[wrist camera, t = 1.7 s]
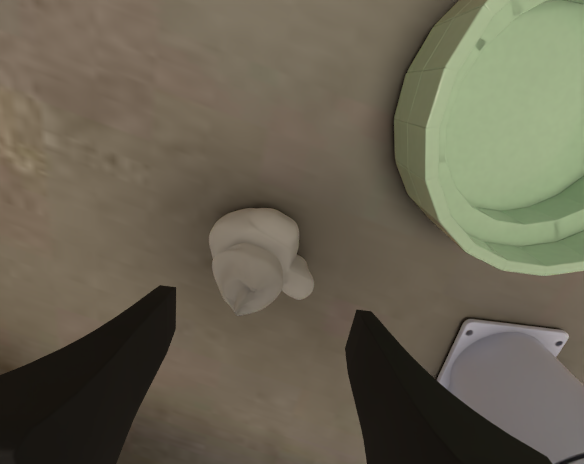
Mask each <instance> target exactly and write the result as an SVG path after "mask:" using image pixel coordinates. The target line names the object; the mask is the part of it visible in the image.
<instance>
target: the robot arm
mask: <svg viewBox="0 0 584 464" xmlns="http://www.w3.org/2000/svg"><path fill="white" fill-rule="evenodd" d="M175 329H176V287H169V286H161V285H160V286H159V287H157V288H156V289H154V290H153V291H152V292H150V293H149V294H147V295H146V296H145V297H143V298H142V299H141V300H139V301H138V302H137V303H135V304H134V305H132V306H131V307H130V308H128V309H127V310H125V311H124V312H122V313H121V314H120V315H118V316H117V317H115V318H114V319H112V320H110V321H109V322H107V323H106V324H104V325H103V326H101V327H99V328H98V329H96V330H95V331H93V332H91V333H90V334H88V335H86V336H84V337H83V338H81V339H79V340H77V341H75V342H73V343H71V344H69V345H68V346H66V347H64V348H62V349H60V350H57V351H55V352H53V353H51V354H49V355H47V356H44V357H42V358H40V359H38V360H36V361H34V362H31V363H29V364H27V365H25V366H22V367H20V368H17V369H15V370H12V371H10V372H7V373H5V374H2V375H0V464H116V463H117V460H118V457H119V455H120V452H121V450H122V447H123V444H124V442H125V439H126V437H127V434H128V432H129V429H130V427H131V424H132V422H133V419H134V417H135V415H136V413H137V411H138V409H139V407H140V405H141V403H142V401H143V399H144V397H145V395H146V393H147V391H148V389H149V387H150V385H151V383H152V381H153V379H154V377H155V375H156V373H157V371H158V369H159V367H160V365H161V363H162V361H163V359H164V357H165V355H166V353H167V351H168V348H169V346H170V343H171V340H172V337H173V335H174V332H175ZM468 330H469V331H468ZM467 331H468V332H467ZM568 338H569V335H568V334H567V333H566V332H565V331H564V330H558V329H550V328H542V327H534V326H526V325H518V324H510V323H501V322H493V321H485V320H477V319H468V320H466V321H464V323H463V324H462V327H461V329H460V331H459V333H458V335H457V337H456V339H455V342H454V344H453V346H452V348H451V350H450V352H449V354H448V357H447V359H446V361H445V363H444V365H443V367H442V369H441V371H440V374H439V376H438V378H437V380H436V379H434V378H433V377H432V376H431V375H430V374H429V373H428V372H427V371H426V370H425V369H424V368H423V367H422V366H421V365H420V364H419V363H418V362H417V361H416V360H415V359H414V358H413V357H412V356H411V355H410V354H409V353H408V352H407V351H406V350H405V349H404V348H403V347H402V346H401V345H400V344H399V342H398V341H397V340H396V339H395V338H394V337H393V336H392V335H391V333H390V332H389V331H388V330H387V329H386V328H385V326H384V325H383V324H382V323H381V322H380V321H379V320H378V318H377V317H376V316H375V315H374V314H373V313H372V312H371V311H363V310H356V313H355V317H354V320H353V324H352V327H351V330H350V334H349V337H348V340H347V344H346V347H345V351H346V361H347V369H348V375H349V379H350V384H351V388H352V392H353V396H354V400H355V404H356V409H357V413H358V417H359V421H360V425H361V429H362V434H363V439H364V445H365V452H366V459H367V464H584V385H583V384H582V383H581V382H580V381H579V380H578V379H577V378H576V377H575V376H574V375H573V374H572V373H571V372H570V371H569V370H568V369H567V368H566V367H565V366H564V365H563V364H562V363H561V362H560V361H559V360H558V359H557V358H556V357H557V355H558V354H559V352H560V351H561V349H562V347H563V346H564V344H565V343H566V341H567V340H568Z"/></svg>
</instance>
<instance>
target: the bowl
mask: <svg viewBox="0 0 584 464" xmlns="http://www.w3.org/2000/svg"><path fill="white" fill-rule="evenodd" d="M394 119H395V120H394V141H395V161H396V165H397V167H398V170H399V173H400V175H401V178H402V181H403V183H404V186H405V189H406V191H407V194H408V195H409V197H410V198H411V199H412V200H413V201H414V202H415V204H416V205H417V206H418V207H419V208H420V209H421V210H422V211H423V213H424V214H425V215H426V216H427V217H428V218H429V219H430V220H431V221H432V222H433V223H434V224H435V225H436V226H437V227H439V228H440V229H441V230H442V231H443V232H444V233H445V234H446V235H447V236H448V237H449V238H450V239H452V240H453V241H454V242H455V243H456V244H457V245H458V246H459V247H460V248H461V249H462V250H463V251H465V252H466V253H467V254H469V255H471V256H473V257H475V258H477V259H479V260H481V261H483V262H485V263H487V264H489V265H491V266H493V267H495V268H497V269H499V270H502V271H509V272H516V273H524V274H531V275H538V276H549V275H557V274H564V273H571V272H578V271H584V0H459V1H458V2H457V3H456V4H455V5H454V6H453V7H452V8H451V9H450V10H449V11H448V12H447V13H446V14H445V15H444V16H443V17H442V18H441V19H440V20H439V21H438V22H437V23H436V24H435V25H434V27H433V28H432V30H431V31H430V33H429V35H428V37H427V38H426V40H425V42H424V43H423V45H422V47H421V49H420V50H419V52H418V54H417V55H416V57H415V59H414V61H413V62H412V64H411V66H410V68H409V69H408V71H407V73H406V75H405V79H404V83H403V86H402V90H401V94H400V98H399V101H398V105H397V109H396V112H395V116H394Z"/></svg>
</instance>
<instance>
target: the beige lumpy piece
mask: <svg viewBox="0 0 584 464" xmlns="http://www.w3.org/2000/svg"><path fill="white" fill-rule="evenodd" d="M209 245H210V249H211V253H212V257H213V262H212V271H213V275H214V278H215V281H216V283H217V285H218V288H219V290H220V292H221V295H222V297H223V299H224V300H225V301H226V302H227V303H228V304H229V305H230V307H231V308H232V310H233V311H234V313H235V314H236V315H237V316H241V315H245V314H250V313H254V312H257V311H260V310H261V309H263V308H265V307H267V306H268V305H269V304H271V303H272V302H273V301H274V300H275V299H276V298H277V297H278V295H279V294H280V293H281V291H283V292H284V293H286V294H287V295H289V296H291V297H292V298H294V299H297V300H300V299H304V298H306V297H307V296H309V295H310V294H311V292H312V291H313V288H314V280H313V277H312V275H311V273H310V271H309V270H308V265H307V262H306V260H305V259H304V258H302V257H301V256H299V255H297V251H298V248H299V229H298V225H297V223H296V222H295V221H294V220H293V219H291V218H290V217H288V216H286V215H285V214H283V213H281V212H280V211H278V210H276V209H272V208H257V209H255V208H246V209H241V210H238V211H234V212H231V213H228V214H226V215H225V216H223V217H221V218H220V219H219V220H218V221H217V222H216V223H215V225H214V226H213V228H212V230H211V232H210V234H209Z"/></svg>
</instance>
